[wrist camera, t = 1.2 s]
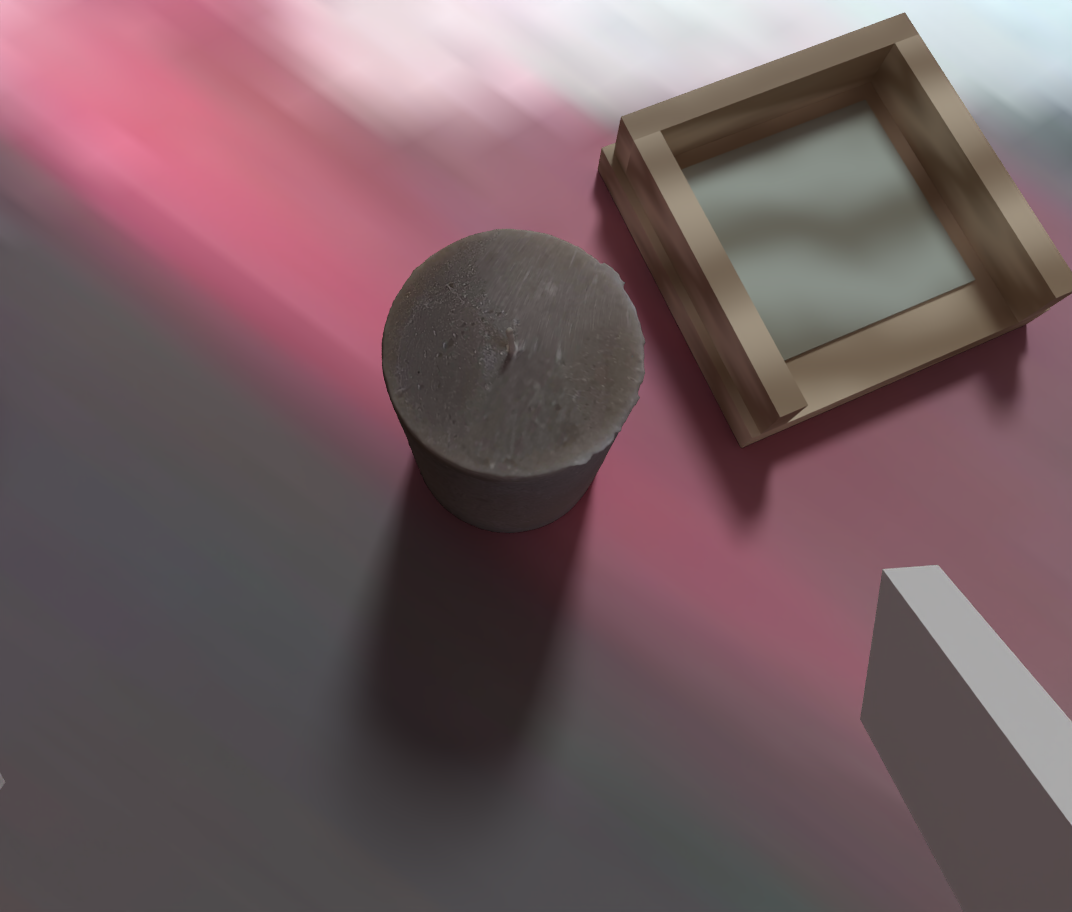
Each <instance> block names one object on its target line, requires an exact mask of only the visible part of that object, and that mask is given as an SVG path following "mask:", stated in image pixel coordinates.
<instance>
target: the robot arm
mask: <svg viewBox="0 0 1072 912" xmlns="http://www.w3.org/2000/svg"><path fill="white" fill-rule="evenodd" d="M860 720H861V721H862V723H863V725H864V727H865V729H866V731H867V733H868V734H869V736H870V738H871V740H872V742H873V744H874V746H875V748H876V749H877V751H878V753H879V755H880V757H881V759H882V761H883V762H884V764H885V766H886V768H887V770H888V772H889V774H890V776H891V777H892V779H893V781H894V783H895V785H896V787H897V789H898V790H899V792H900V794H901V796H902V798H903V800H904V802H905V804H906V805H907V807H908V809H909V811H910V813H911V815H912V817H913V818H914V820H915V822H916V824H917V826H918V828H919V830H920V831H921V833H922V835H923V837H924V839H925V841H926V843H927V845H928V846H929V848H930V850H931V852H932V854H933V856H934V858H935V859H936V861H937V863H938V865H939V867H940V869H941V871H942V873H943V874H944V876H945V878H946V880H947V882H948V884H949V886H950V887H951V889H952V891H953V893H954V895H955V897H956V899H957V901H958V902H959V904H960V906H961V908H962V910H963V912H1072V722H1071V720H1070V719H1069V718H1068V717H1067V716H1066V714H1065V713H1064V712H1063V711H1062V710H1061V709H1060V707H1059V706H1058V705H1057V704H1056V703H1055V702H1054V700H1053V699H1052V698H1051V697H1050V696H1049V695H1048V693H1047V692H1046V691H1045V690H1044V689H1043V688H1042V686H1041V685H1040V684H1039V683H1038V682H1037V681H1036V679H1035V678H1034V677H1033V676H1032V675H1031V673H1030V672H1029V671H1028V670H1027V669H1026V668H1025V666H1024V665H1023V664H1022V663H1021V662H1020V661H1019V659H1018V658H1017V657H1016V656H1015V655H1014V654H1013V652H1012V651H1011V650H1010V649H1009V648H1008V647H1007V645H1006V644H1005V643H1004V642H1003V641H1002V639H1001V638H1000V637H999V636H998V635H997V634H996V632H995V631H994V630H993V629H992V628H991V627H990V625H989V624H988V623H987V622H986V621H985V620H984V618H983V617H982V616H981V615H980V614H979V613H978V611H977V610H976V609H975V608H974V607H973V606H972V604H971V603H970V602H969V601H968V600H967V598H966V597H965V596H964V595H963V594H962V593H961V591H960V590H959V589H958V588H957V587H956V586H955V584H954V583H953V582H952V581H951V580H950V579H949V577H948V576H947V575H946V574H945V573H944V572H943V570H942V569H941V568H940V567H939V566H938V565H932V566H919V567H905V568H892V569H883V570H882V577H881V583H880V590H879V597H878V603H877V610H876V617H875V624H874V630H873V637H872V644H871V650H870V657H869V664H868V670H867V677H866V684H865V691H864V697H863V704H862V711H861V717H860ZM4 783H5V781H4V779H3V777H2V775H1V773H0V789H1V787H2V786H3V784H4Z"/></svg>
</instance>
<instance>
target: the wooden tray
mask: <svg viewBox="0 0 1072 912" xmlns="http://www.w3.org/2000/svg"><path fill="white" fill-rule="evenodd" d="M598 171H599V173H600V175H601V177H602V178H603V180H604V182H605V184H606V186H607V188H608V190H609V192H610V194H611V196H612V198H613V200H614V202H615V204H616V206H617V208H618V210H619V212H620V214H621V215H622V217H623V219H624V221H625V223H626V225H627V227H628V229H629V231H630V233H631V235H632V237H633V239H634V241H635V243H636V245H637V247H638V249H639V250H640V252H641V254H642V256H643V258H644V260H645V262H646V264H647V266H648V268H649V270H650V272H651V274H652V276H653V278H654V280H655V282H656V284H657V286H658V287H659V289H660V291H661V293H662V295H663V297H664V299H665V301H666V303H667V305H668V307H669V309H670V311H671V313H672V315H673V317H674V319H675V321H676V323H677V324H678V326H679V328H680V330H681V332H682V334H683V336H684V338H685V340H686V342H687V344H688V346H689V348H690V350H691V352H692V354H693V356H694V358H695V360H696V361H697V363H698V365H699V367H700V369H701V371H702V373H703V375H704V377H705V379H706V381H707V383H708V385H709V387H710V389H711V391H712V393H713V395H714V397H715V398H716V400H717V402H718V404H719V406H720V408H721V410H722V412H723V414H724V416H725V418H726V420H727V422H728V424H729V426H730V428H731V430H732V432H733V434H734V435H735V437H736V439H737V441H738V443H739V445H740V447H741V448H743V447H745V446H747V445H750V444H752V443H754V442H756V441H759V440H761V439H763V438H766V437H768V436H770V435H773V434H775V433H777V432H779V431H782V430H784V429H786V428H789V427H791V426H793V425H796V424H798V423H800V422H802V421H805V420H807V419H809V418H812V417H814V416H816V415H819V414H821V413H823V412H825V411H828V410H830V409H832V408H835V407H837V406H839V405H842V404H844V403H846V402H848V401H851V400H853V399H855V398H858V397H860V396H862V395H865V394H867V393H869V392H871V391H874V390H876V389H878V388H881V387H883V386H885V385H888V384H890V383H892V382H894V381H897V380H899V379H901V378H904V377H906V376H908V375H911V374H913V373H915V372H917V371H920V370H922V369H924V368H927V367H929V366H931V365H934V364H936V363H938V362H940V361H943V360H945V359H947V358H950V357H952V356H954V355H957V354H959V353H961V352H963V351H966V350H968V349H970V348H973V347H975V346H977V345H980V344H982V343H984V342H986V341H989V340H991V339H993V338H996V337H998V336H1000V335H1003V334H1005V333H1007V332H1010V331H1012V330H1014V329H1016V328H1019V327H1021V326H1023V325H1026V324H1028V323H1029V322H1031V321H1032V320H1034V319H1035V318H1037V317H1038V316H1040V315H1042V314H1043V313H1045V312H1046V311H1048V310H1049V309H1050V307H1051V306H1053V305H1055V304H1056V303H1058V302H1059V301H1061V300H1062V299H1064V298H1065V297H1067V296H1069V295H1070V294H1072V272H1071V270H1070V268H1069V267H1068V265H1067V264H1066V262H1065V261H1064V259H1063V258H1062V256H1061V254H1060V253H1059V251H1058V250H1057V248H1056V247H1055V245H1054V244H1053V242H1052V240H1051V239H1050V237H1049V236H1048V234H1047V233H1046V231H1045V230H1044V228H1043V226H1042V225H1041V223H1040V222H1039V220H1038V219H1037V217H1036V216H1035V214H1034V212H1033V211H1032V209H1031V208H1030V206H1029V205H1028V203H1027V202H1026V200H1025V198H1024V197H1023V195H1022V194H1021V192H1020V191H1019V189H1018V188H1017V186H1016V184H1015V183H1014V181H1013V180H1012V178H1011V177H1010V175H1009V174H1008V172H1007V170H1006V169H1005V167H1004V166H1003V164H1002V163H1001V161H1000V160H999V158H998V156H997V155H996V153H995V152H994V150H993V149H992V147H991V146H990V144H989V142H988V141H987V139H986V138H985V136H984V135H983V133H982V132H981V130H980V128H979V127H978V125H977V124H976V122H975V121H974V119H973V118H972V116H971V114H970V113H969V111H968V110H967V108H966V107H965V105H964V104H963V102H962V100H961V99H960V97H959V96H958V94H957V93H956V91H955V90H954V88H953V86H952V85H951V83H950V82H949V80H948V79H947V77H946V76H945V74H944V72H943V71H942V69H941V68H940V66H939V65H938V63H937V62H936V60H935V58H934V57H933V55H932V54H931V52H930V51H929V49H928V48H927V46H926V44H925V43H924V41H923V40H922V38H921V37H920V35H919V34H918V32H917V30H916V29H915V27H914V26H913V24H912V23H911V21H910V20H909V18H908V16H907V15H906V13H902V14H899V15H897V16H894V17H891V18H888V19H886V20H883V21H880V22H877V23H875V24H872V25H869V26H867V27H864V28H861V29H858V30H856V31H853V32H850V33H848V34H845V35H842V36H839V37H837V38H834V39H831V40H829V41H826V42H823V43H820V44H818V45H815V46H812V47H810V48H807V49H804V50H801V51H799V52H796V53H793V54H791V55H788V56H785V57H782V58H780V59H777V60H774V61H772V62H769V63H766V64H763V65H761V66H758V67H755V68H753V69H750V70H747V71H744V72H742V73H739V74H736V75H733V76H731V77H728V78H725V79H723V80H720V81H717V82H714V83H712V84H709V85H706V86H704V87H701V88H698V89H695V90H693V91H690V92H687V93H685V94H682V95H679V96H676V97H674V98H671V99H668V100H666V101H663V102H660V103H657V104H655V105H652V106H649V107H647V108H644V109H641V110H638V111H636V112H633V113H630V114H628V115H625V116H622V117H621V120H620V125H619V129H618V134H617V139H616V143H614V144H611V145H608V146H606V147H603V148H602V149H601V155H600V160H599V166H598Z"/></svg>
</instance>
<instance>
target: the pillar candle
mask: <svg viewBox="0 0 1072 912" xmlns="http://www.w3.org/2000/svg"><path fill="white" fill-rule="evenodd" d="M624 284H625V282H623V281H622V280H621V279H620V276H619V274H618V273H617V272H616V271H614V269H613V268H611V267H610V266H608V265H607V264H605V263H603V264H600V263H599V262H598V260H597V259H595V258H593V257H592V256H591V255H589V254H587V253H586V252H585V251H584V250H582V249H581V248H579V247H577V246H574V245H572V244H570V243H568V242H566V241H564V240H562V239H559V238H556V237H554V236H552V235H548V234H545V233H540V232H533V231H527V230H515V229H496V230H492V231H487V232H483V233H478V234H474V235H471V236H468V237H466V238H463V239H461V240H459V241H456V242H454V243H452V244H450V245H448V246H447V247H445V248H443V249H442V250H440V251H438V252H437V253H435V254H434V255H432V256H430V257H429V258H428V259H427V260H426V261H425V262H424V263H423V264H421V265H420V266H419V267H417V268H416V269H415V270H413V272H412V274H411V276H410V277H409V278H408V279H407V281H406V282H405V284H404V285H403V287H402V289H401V290H400V292H399V293H398V294H397V296H396V298H395V300H394V301H393V304H392V307H391V308H390V311H389V315H388V317H387V321H386V324H385V327H384V332H383V338H382V369H383V376H384V380H385V384H386V388H387V392H388V394H389V397H390V400H391V402H392V405H393V408H394V410H395V412H396V414H397V417H398V419H399V421H400V423H401V426H402V428H403V430H404V432H405V434H406V437H407V439H408V442H409V446H410V448H411V450H412V453H413V455H414V458H415V460H416V462H417V465H418V467H419V469H420V472H421V475H422V477H423V479H424V481H425V483H426V485H427V486H428V488H429V489H430V491H431V492H432V494H433V495H434V497H435V498H436V499H437V500H438V502H439V503H440V504H441V505H442V506H443V507H444V508H446V509H447V510H448V511H449V512H451V513H452V514H453V515H455V516H456V517H457V518H459V519H461V520H462V521H464V522H466V523H469V524H471V525H473V526H476V527H478V528H480V529H485V530H489V531H492V532H505V533H515V532H523V531H528V530H533V529H536V528H540V527H542V526H545V525H547V524H549V523H552V522H554V521H555V520H557V519H558V518H560V517H561V516H563V515H564V514H566V513H567V512H568V511H569V510H571V509H572V508H573V506H574V505H575V504H576V503H577V502H578V501H579V500H580V498H581V497H582V496H583V495H584V493H585V492H586V490H587V489H588V487H589V485H590V484H591V482H592V481H593V479H594V477H595V475H596V473H597V472H598V470H599V468H600V467H601V465H602V463H603V461H604V459H605V457H606V455H607V453H608V451H609V449H610V447H611V446H612V444H613V442H614V440H615V438H616V437H617V434H618V433H619V432H620V431H621V427H622V426H623V424H624V422H625V421H626V419H627V417H628V415H629V414H630V412H631V410H632V408H633V407H634V406H635V405H636V403H637V401H638V400H639V398H640V397H639V396H638V390H639V387H640V385H641V383H642V382H643V378H644V374H645V370H644V344H645V339H644V336H643V333H642V330H641V326H640V322H639V320H638V316H637V312H636V308H635V306H634V305H633V303H632V302H631V300H630V298H629V296H628V294H627V293H626V292H625V290H624V288H623V287H624Z"/></svg>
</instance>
